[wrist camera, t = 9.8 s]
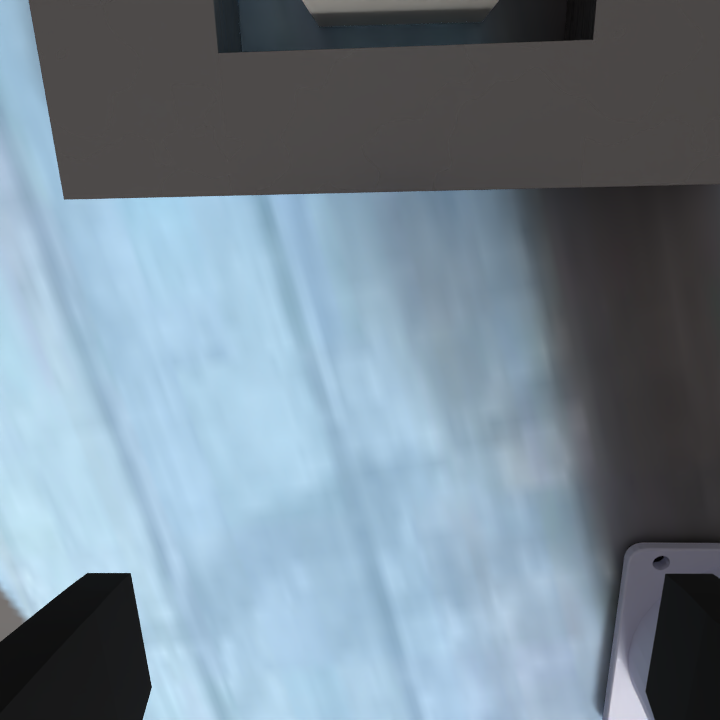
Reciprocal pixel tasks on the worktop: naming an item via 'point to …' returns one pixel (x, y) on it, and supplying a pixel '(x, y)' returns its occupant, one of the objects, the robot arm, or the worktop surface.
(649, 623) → the robot arm
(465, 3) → the plug
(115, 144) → the socket plate
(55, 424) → the worktop surface
